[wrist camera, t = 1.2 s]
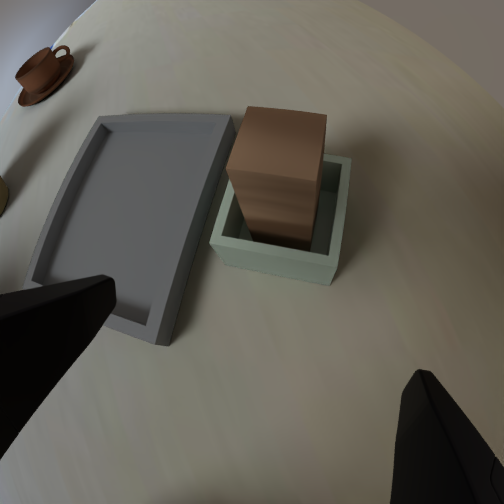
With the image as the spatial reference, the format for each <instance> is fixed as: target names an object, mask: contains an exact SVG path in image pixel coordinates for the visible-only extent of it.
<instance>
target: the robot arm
mask: <svg viewBox="0 0 504 504" xmlns="http://www.w3.org/2000/svg"><path fill="white" fill-rule="evenodd" d="M116 303H117V297H116V285H115V280H114V279H113V278H112V277H109V276H107V275H104V274H101V275H96V276H91V277H86V278H81V279H76V280H71V281H66V282H61V283H56V284H51V285H46V286H41V287H36V288H31V289H26V290H21V291H16V292H11V293H6V294H4V295H3V294H1V295H0V460H1V458H2V457H3V455H4V454H5V452H6V451H7V450H8V448H9V447H10V445H11V444H12V443H13V441H14V440H15V438H16V437H17V436H18V434H19V432H20V431H21V430H22V428H23V427H24V426H25V424H26V423H27V422H28V420H29V419H30V418H31V416H32V415H33V414H34V412H35V411H36V410H37V409H38V407H39V406H40V405H41V403H42V402H43V401H44V399H45V398H46V397H47V396H48V394H49V393H50V392H51V391H52V389H53V388H54V387H55V386H56V384H57V383H58V382H59V380H60V379H61V378H62V377H63V376H64V374H65V373H66V372H67V371H68V369H69V368H70V367H71V366H72V365H73V363H74V362H75V361H76V360H77V358H78V357H79V356H80V355H81V354H82V352H83V351H84V350H85V349H86V348H87V346H88V345H89V344H90V343H91V341H92V340H93V339H94V337H95V336H96V334H97V333H98V331H99V330H100V328H101V327H102V326H103V324H104V323H105V321H106V320H107V318H108V317H109V315H110V314H111V313H112V311H113V310H114V308H115V306H116ZM390 504H504V467H503V465H502V464H501V463H500V461H499V460H498V458H497V457H495V454H494V453H493V451H492V450H491V449H490V447H489V446H488V444H487V443H486V442H485V440H484V439H483V438H482V436H481V435H480V433H479V432H478V431H477V429H476V428H475V427H474V425H473V424H472V423H471V421H470V420H469V419H468V418H467V416H466V415H465V414H464V412H463V411H462V410H461V408H460V407H459V406H458V405H457V403H456V402H455V401H454V399H453V398H452V397H451V396H450V394H449V393H448V392H447V391H446V389H445V388H444V387H443V386H442V384H441V383H440V382H439V381H438V379H437V378H436V377H435V376H434V374H433V373H432V372H431V371H428V370H422V369H418V370H416V371H415V373H414V374H413V376H412V377H411V379H410V380H409V382H408V384H407V385H406V387H405V388H404V390H403V392H402V396H401V404H400V412H399V420H398V427H397V434H396V441H395V454H394V469H393V481H392V491H391V499H390Z"/></svg>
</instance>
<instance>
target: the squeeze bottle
mask: <svg viewBox="0 0 504 504" xmlns="http://www.w3.org/2000/svg"><path fill="white" fill-rule="evenodd" d="M7 199H8V187H7V186H6V184H5V183H4V181H3V179H2V178H1V176H0V215H1V213H2V212H3V210H4V208H5V205H6V203H7Z"/></svg>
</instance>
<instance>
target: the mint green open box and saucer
mask: <svg viewBox="0 0 504 504" xmlns="http://www.w3.org/2000/svg"><path fill="white" fill-rule="evenodd" d="M60 49H65V50H66V55H63V56H60V57H58V58H56V56H55V55H56V53H57V52H58V51H59V50H60ZM73 63H74V58H73V56H72V55H70V49H69V47H67V46H65V45H62V46H59V47H57V48H56V49H55V50H54V51H53V52H52V50H51V49H50V48H49V47H47V48H44V49H42V50H40V51H39V52H37V53H36V54H35V55H33V56H32V57H31V58H30V59H28V60H27V61H26V62H25V63H24V64H23V65H22V67H21V68H20V69H19V71H18V72H17V74H16V76H15V78H16V80H17V81H18V82H19V83H20V84H21V85H22V86H23V90H22V92H21V93H20V96H19V99H18V103H19V105H21V106H23V107H25V106H31V105H33V104H35V103H37V102H39V101H41V100H42V99H44V98H45V97H46V96H48V95H49V94H50V93H51V92H53V91H54V90H55V89H56V88H57V87H58V86H59V85H60V84H61V83H62V82H63V80H64V79H65V78H66V77H67V75H68V74H69V72H70V71H71V69H72V66H73Z"/></svg>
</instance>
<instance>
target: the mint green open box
mask: <svg viewBox="0 0 504 504" xmlns="http://www.w3.org/2000/svg"><path fill="white" fill-rule="evenodd" d="M351 161H352V158H347V157H342V156H336V155H330V154H324V157H323V168H322V178H321V188H320V197H319V205H318V211H317V217H316V222H315V228H314V233H313V238H312V244H311V249H310V252H306V251H301V250H296V249H290V248H285V247H280V246H274V245H269V244H264V243H258V242H253V240H252V237H251V234H250V232H249V229H248V226H247V224H246V221H245V218H244V216H243V213H242V210H241V208H240V205H239V203H238V200H237V197H236V195H235V192H234V189H233V187H232V184H231V181H230V179H229V182H228V185H227V188H226V191H225V194H224V197H223V200H222V203H221V206H220V210H219V213H218V216H217V219H216V222H215V226H214V229H213V232H212V235H211V239H210V242H209V244H210V245H211V246H212V248H213V249H214V250H215V252H216V253H217V254H218V256H219V257H220V258H221V260H222V261H223V262H224V264H225V265H228V266H233V267H238V268H242V269H247V270H252V271H257V272H262V273H267V274H272V275H277V276H282V277H287V278H292V279H297V280H302V281H307V282H312V283H318V284H323V285H328V286H330V283H331V281H332V279H333V276H334V274H335V272H336V270H337V266H338V260H339V254H340V248H341V241H342V235H343V228H344V221H345V213H346V206H347V198H348V189H349V180H350V171H351Z"/></svg>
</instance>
